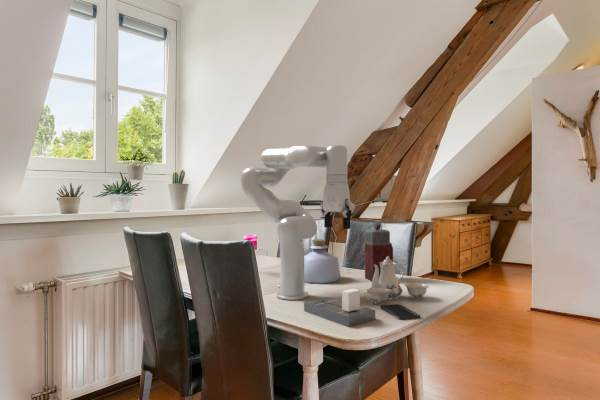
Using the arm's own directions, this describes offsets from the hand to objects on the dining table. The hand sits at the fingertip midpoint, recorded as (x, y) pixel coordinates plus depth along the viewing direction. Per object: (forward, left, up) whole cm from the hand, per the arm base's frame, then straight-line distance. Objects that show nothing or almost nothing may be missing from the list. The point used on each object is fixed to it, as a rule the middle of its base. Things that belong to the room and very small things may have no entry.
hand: (337, 228), depth 148 cm
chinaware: (+5, +24, -29) cm, 38 cm away
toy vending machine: (-22, +47, -28) cm, 59 cm away
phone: (+19, +11, -29) cm, 36 cm away
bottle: (-40, +25, -29) cm, 55 cm away
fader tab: (+14, -7, -25) cm, 29 cm away
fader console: (+8, -7, -28) cm, 30 cm away
